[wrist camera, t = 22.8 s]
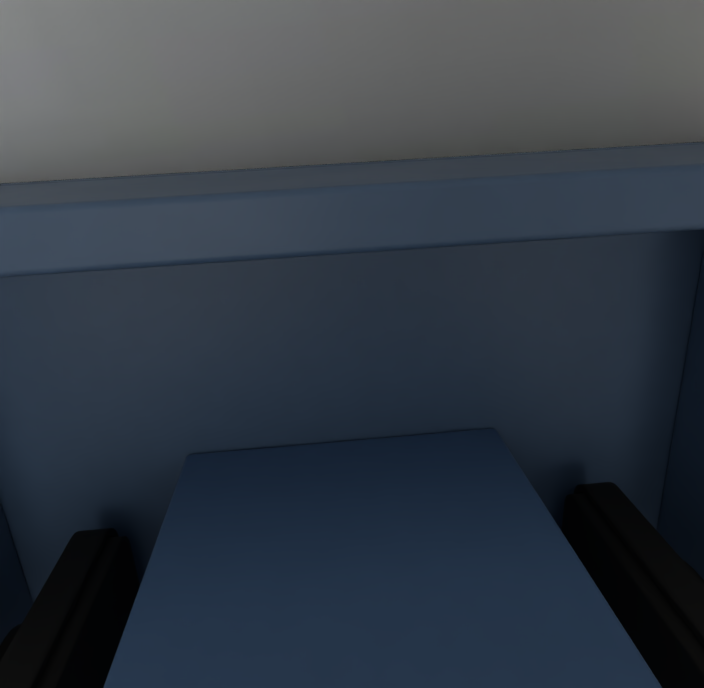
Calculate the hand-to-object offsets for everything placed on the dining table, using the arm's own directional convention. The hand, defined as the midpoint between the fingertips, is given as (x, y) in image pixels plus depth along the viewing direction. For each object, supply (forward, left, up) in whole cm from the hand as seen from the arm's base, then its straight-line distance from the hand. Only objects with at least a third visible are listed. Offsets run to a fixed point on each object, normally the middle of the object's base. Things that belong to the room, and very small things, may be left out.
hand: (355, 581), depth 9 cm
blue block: (0, 0, -1) cm, 1 cm away
